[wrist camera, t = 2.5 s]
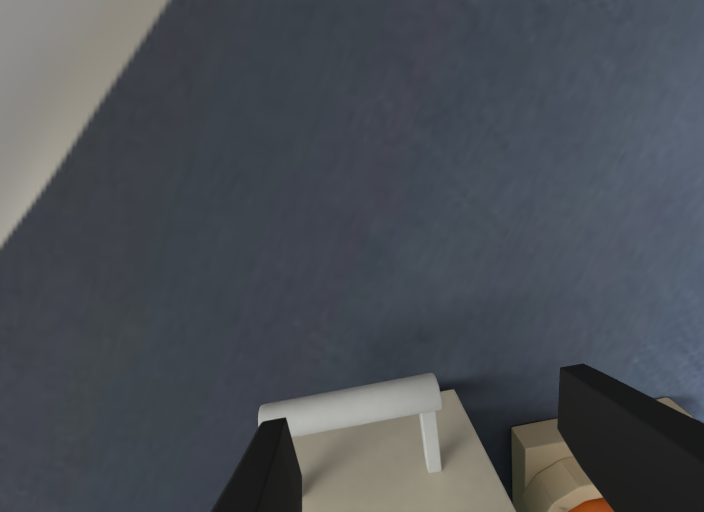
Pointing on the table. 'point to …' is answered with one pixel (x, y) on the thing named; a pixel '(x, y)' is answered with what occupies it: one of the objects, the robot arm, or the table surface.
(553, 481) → the control block
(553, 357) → the table surface
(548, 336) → the table surface
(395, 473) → the cream pull-out drawer
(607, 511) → the button
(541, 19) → the table surface
